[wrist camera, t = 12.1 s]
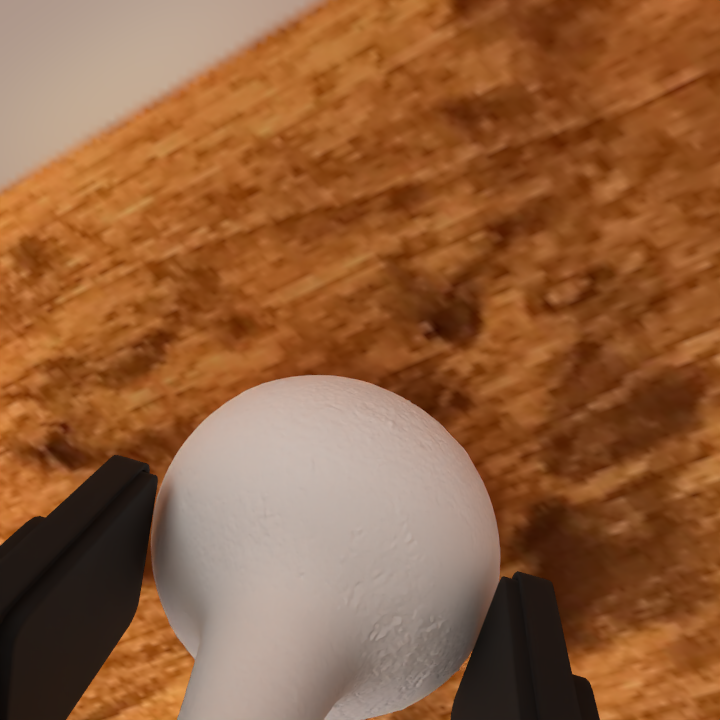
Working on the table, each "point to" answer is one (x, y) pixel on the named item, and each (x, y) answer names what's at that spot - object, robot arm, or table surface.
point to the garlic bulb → (322, 553)
